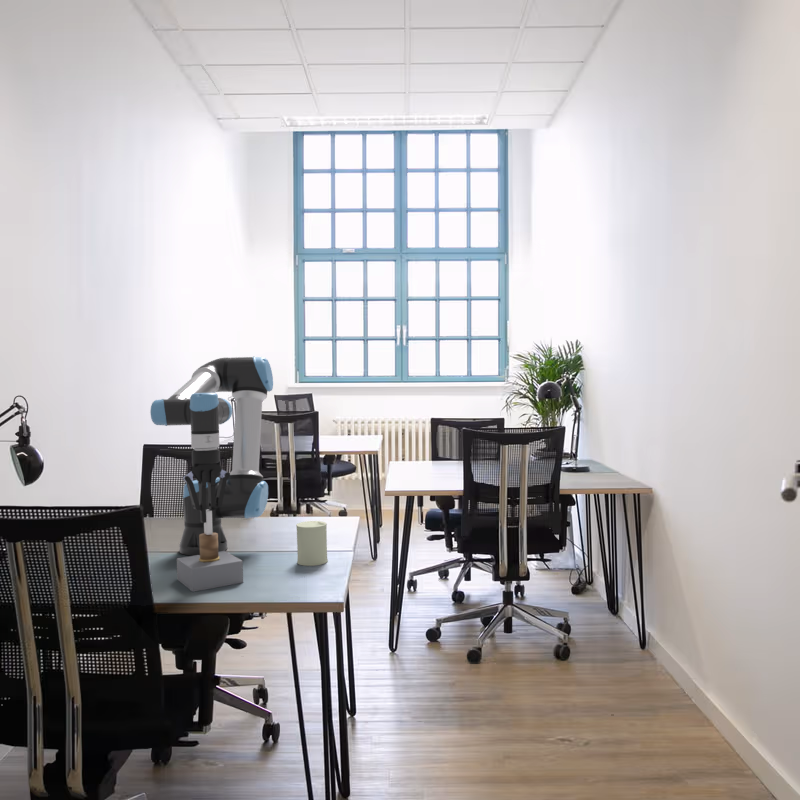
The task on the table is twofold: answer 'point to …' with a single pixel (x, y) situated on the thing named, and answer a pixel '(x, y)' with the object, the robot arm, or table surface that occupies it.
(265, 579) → the table surface
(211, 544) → the walnut peg
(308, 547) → the can
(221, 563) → the socket block
